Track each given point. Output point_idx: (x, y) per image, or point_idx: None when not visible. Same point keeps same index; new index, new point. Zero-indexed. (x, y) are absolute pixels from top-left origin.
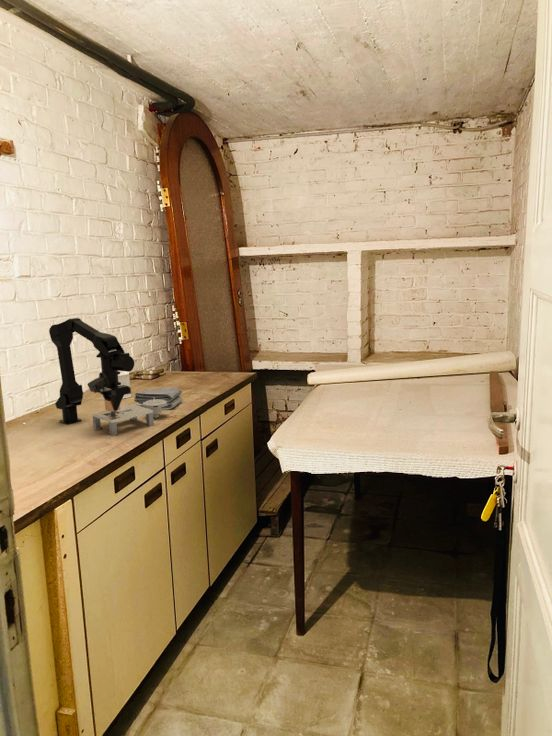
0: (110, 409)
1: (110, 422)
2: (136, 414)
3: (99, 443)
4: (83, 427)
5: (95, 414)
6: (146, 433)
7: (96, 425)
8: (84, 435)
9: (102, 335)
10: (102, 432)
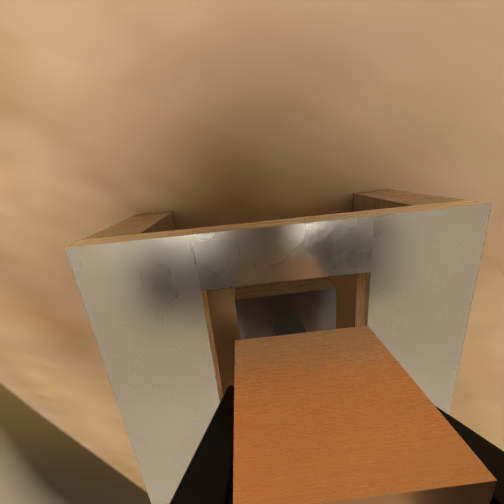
0: (240, 361)
1: (102, 237)
2: (142, 469)
3: (3, 56)
4: (480, 149)
5: (433, 217)
6: (59, 375)
7: (368, 201)
8: (295, 60)
9: None
10: (264, 198)
